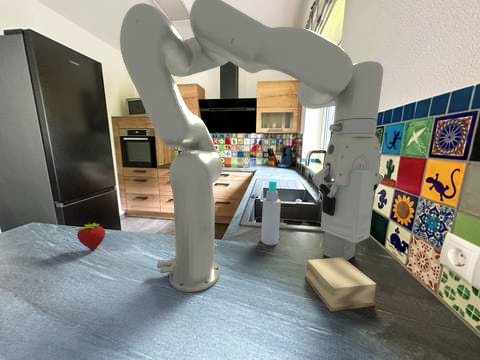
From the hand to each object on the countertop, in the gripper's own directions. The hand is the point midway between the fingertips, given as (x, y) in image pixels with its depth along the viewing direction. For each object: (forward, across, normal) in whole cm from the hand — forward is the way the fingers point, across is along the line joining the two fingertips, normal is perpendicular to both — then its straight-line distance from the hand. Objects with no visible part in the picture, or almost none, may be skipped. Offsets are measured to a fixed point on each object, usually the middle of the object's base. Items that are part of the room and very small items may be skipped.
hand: (344, 212), depth 41 cm
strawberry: (+19, -65, +26) cm, 72 cm away
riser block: (+19, 0, 0) cm, 19 cm away
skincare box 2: (+19, +11, +14) cm, 26 cm away
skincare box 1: (+5, 0, 0) cm, 5 cm away
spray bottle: (+19, -8, +25) cm, 32 cm away
